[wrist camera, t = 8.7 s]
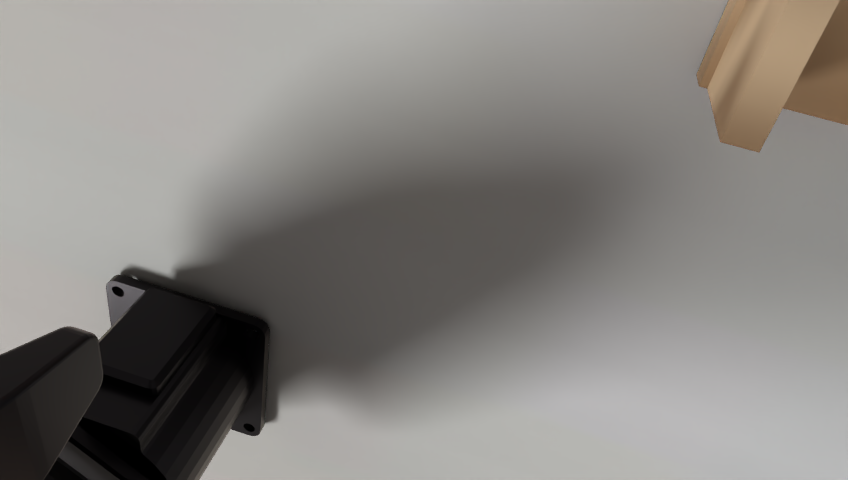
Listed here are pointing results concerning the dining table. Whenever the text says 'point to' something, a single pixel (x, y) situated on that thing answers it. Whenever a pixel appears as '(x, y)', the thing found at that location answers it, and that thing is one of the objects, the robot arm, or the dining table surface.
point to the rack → (776, 66)
